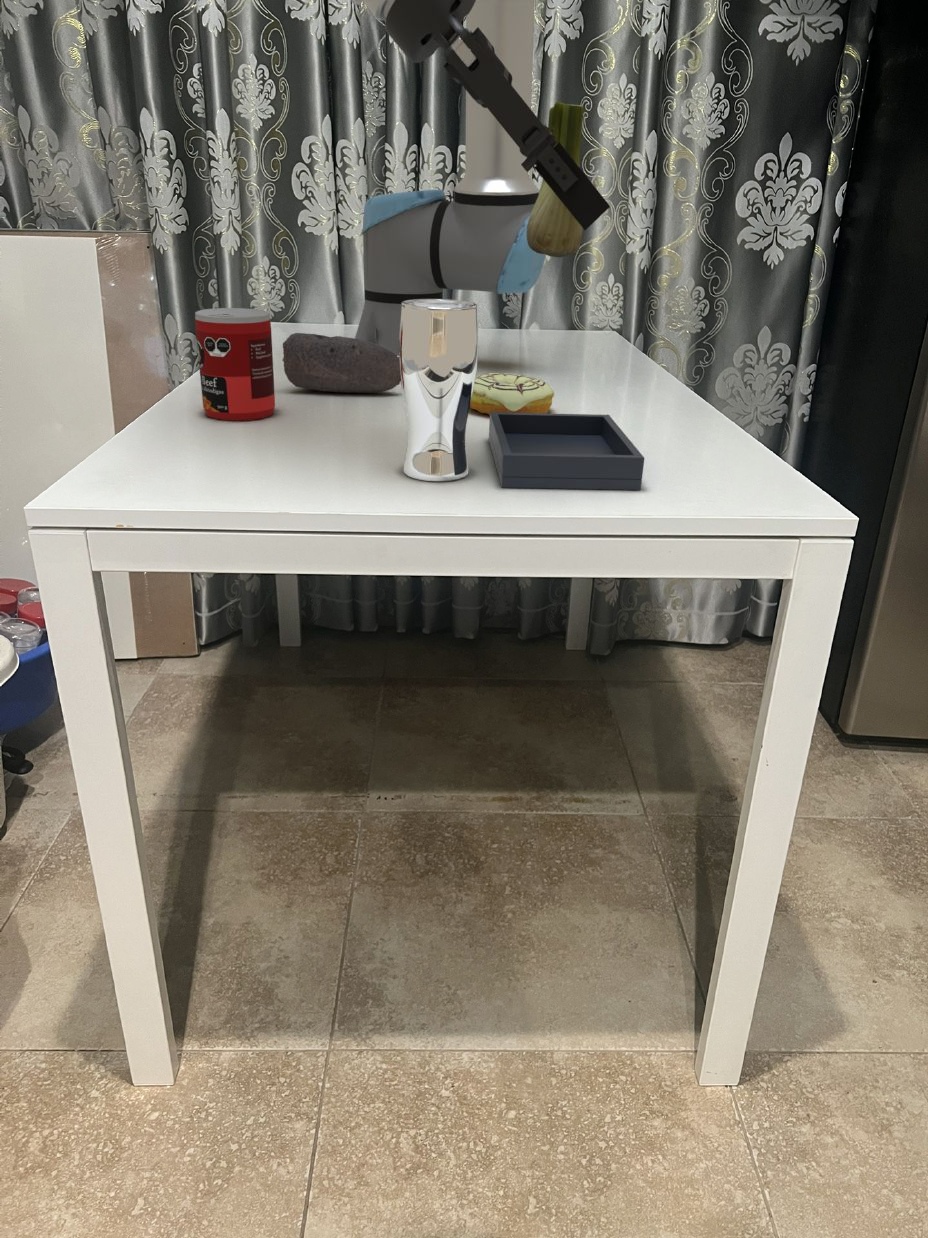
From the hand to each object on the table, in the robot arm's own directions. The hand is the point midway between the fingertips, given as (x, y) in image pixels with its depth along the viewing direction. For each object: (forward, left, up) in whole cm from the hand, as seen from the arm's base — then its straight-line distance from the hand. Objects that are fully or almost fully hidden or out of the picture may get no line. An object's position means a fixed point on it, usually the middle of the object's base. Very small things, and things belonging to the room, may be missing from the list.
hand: (597, 216), depth 79 cm
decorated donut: (-24, -5, -22) cm, 33 cm away
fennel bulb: (-1, -4, -4) cm, 5 cm away
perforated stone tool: (-32, -25, -22) cm, 46 cm away
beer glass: (+3, -14, -22) cm, 26 cm away
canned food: (-19, -36, -22) cm, 46 cm away
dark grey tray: (-1, -2, -22) cm, 22 cm away
